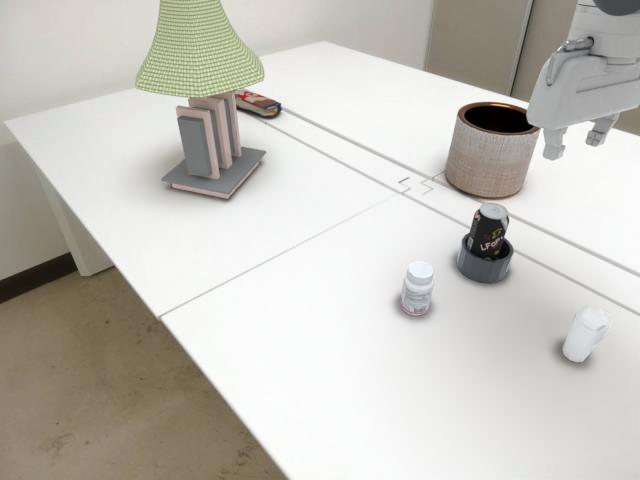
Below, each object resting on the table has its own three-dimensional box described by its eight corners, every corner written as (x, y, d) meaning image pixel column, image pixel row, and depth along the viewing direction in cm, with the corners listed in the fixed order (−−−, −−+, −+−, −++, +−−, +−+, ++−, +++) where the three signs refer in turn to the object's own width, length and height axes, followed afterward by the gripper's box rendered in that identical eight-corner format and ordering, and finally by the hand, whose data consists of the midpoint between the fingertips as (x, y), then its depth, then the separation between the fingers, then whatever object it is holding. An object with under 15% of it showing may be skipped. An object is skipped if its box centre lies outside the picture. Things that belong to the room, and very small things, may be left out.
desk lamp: (247, 216, 96) (222, 7, 71) (134, 192, 103) (75, -6, 78) (292, 159, 115) (285, -21, 90) (194, 142, 122) (162, -30, 97)
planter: (429, 171, 111) (440, 109, 101) (484, 155, 117) (499, 95, 107) (480, 208, 99) (498, 142, 89) (538, 188, 105) (561, 124, 95)
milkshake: (561, 367, 67) (586, 322, 61) (555, 339, 71) (578, 294, 65) (594, 373, 66) (623, 328, 60) (586, 344, 70) (613, 299, 64)
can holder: (512, 262, 85) (519, 241, 82) (497, 290, 79) (504, 269, 76) (466, 245, 89) (472, 224, 86) (449, 270, 83) (454, 249, 80)
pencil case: (251, 96, 147) (250, 80, 144) (287, 115, 136) (286, 99, 133) (221, 104, 142) (219, 88, 139) (256, 125, 130) (254, 109, 127)
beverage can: (500, 263, 84) (518, 209, 76) (484, 278, 81) (501, 224, 73) (472, 248, 87) (487, 196, 80) (456, 262, 84) (470, 209, 76)
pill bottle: (406, 291, 79) (412, 255, 74) (432, 302, 77) (441, 265, 72) (395, 309, 76) (401, 272, 71) (422, 320, 74) (430, 283, 69)
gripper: (586, 46, 44) (546, 176, 52) (683, 33, 54) (638, 144, 61) (530, 37, 49) (500, 158, 56) (629, 26, 58) (592, 131, 66)
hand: (573, 151), depth 59 cm, fingers open, 8 cm apart
